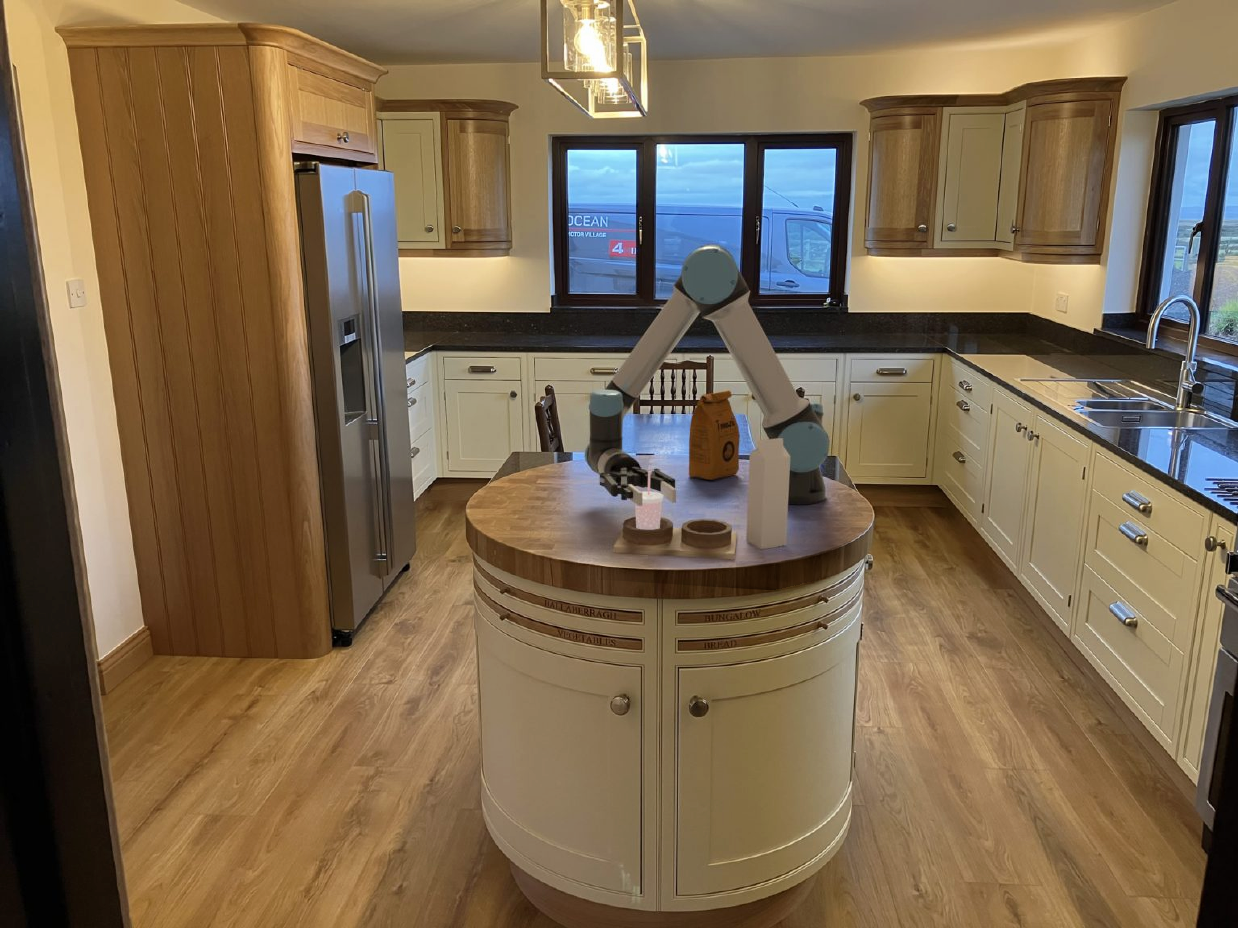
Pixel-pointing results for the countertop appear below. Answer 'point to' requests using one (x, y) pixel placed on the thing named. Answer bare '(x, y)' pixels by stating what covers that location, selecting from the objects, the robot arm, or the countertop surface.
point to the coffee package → (713, 438)
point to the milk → (768, 494)
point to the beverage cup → (649, 509)
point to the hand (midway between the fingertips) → (657, 497)
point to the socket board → (679, 539)
